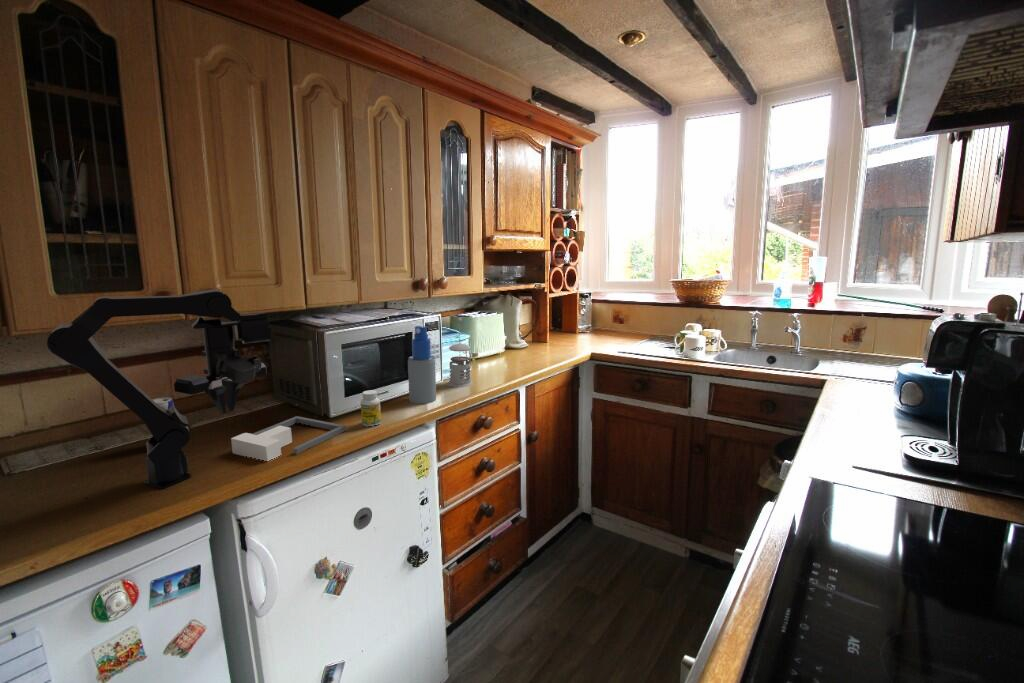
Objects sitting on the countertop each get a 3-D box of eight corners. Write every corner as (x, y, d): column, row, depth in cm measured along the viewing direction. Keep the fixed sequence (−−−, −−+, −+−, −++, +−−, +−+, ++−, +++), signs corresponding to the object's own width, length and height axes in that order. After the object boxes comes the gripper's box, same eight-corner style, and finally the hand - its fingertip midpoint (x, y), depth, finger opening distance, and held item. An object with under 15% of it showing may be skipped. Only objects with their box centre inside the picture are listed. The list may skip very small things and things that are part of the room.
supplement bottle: (382, 420, 144) (381, 389, 142) (379, 426, 139) (378, 394, 137) (363, 420, 144) (362, 389, 142) (360, 427, 138) (358, 395, 137)
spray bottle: (426, 405, 158) (424, 329, 153) (403, 401, 161) (401, 327, 156) (441, 397, 166) (439, 325, 161) (418, 394, 169) (416, 323, 164)
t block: (267, 462, 116) (266, 446, 115) (232, 453, 121) (231, 438, 120) (303, 444, 126) (302, 430, 125) (270, 437, 131) (268, 423, 130)
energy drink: (184, 442, 127) (178, 398, 125) (164, 450, 122) (158, 404, 120) (168, 439, 129) (162, 396, 126) (148, 447, 124) (141, 402, 121)
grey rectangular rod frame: (297, 454, 120) (296, 448, 120) (244, 442, 127) (244, 436, 127) (346, 430, 136) (345, 425, 136) (297, 420, 143) (296, 416, 143)
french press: (442, 385, 180) (440, 318, 175) (457, 377, 191) (456, 314, 186) (465, 388, 176) (464, 320, 171) (480, 380, 187) (479, 316, 182)
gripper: (203, 358, 97) (212, 431, 100) (280, 341, 114) (286, 405, 117) (167, 353, 102) (177, 423, 105) (247, 337, 118) (253, 399, 122)
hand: (227, 412), depth 112 cm, fingers closed
